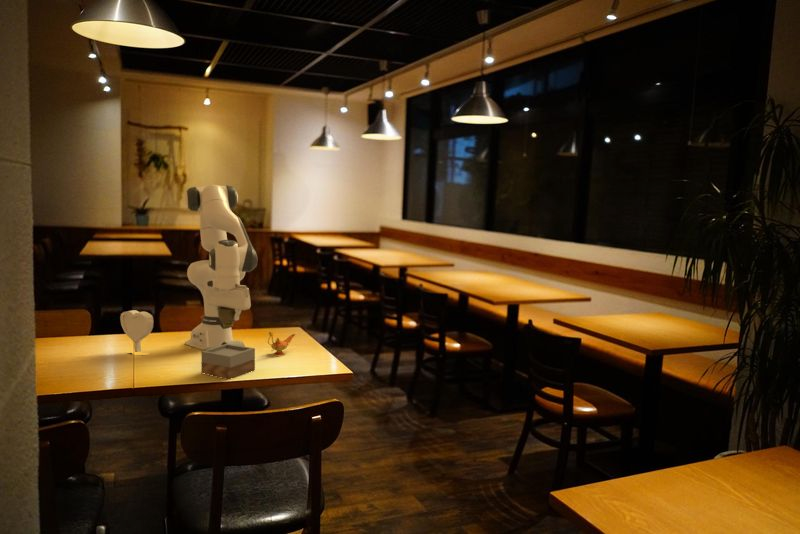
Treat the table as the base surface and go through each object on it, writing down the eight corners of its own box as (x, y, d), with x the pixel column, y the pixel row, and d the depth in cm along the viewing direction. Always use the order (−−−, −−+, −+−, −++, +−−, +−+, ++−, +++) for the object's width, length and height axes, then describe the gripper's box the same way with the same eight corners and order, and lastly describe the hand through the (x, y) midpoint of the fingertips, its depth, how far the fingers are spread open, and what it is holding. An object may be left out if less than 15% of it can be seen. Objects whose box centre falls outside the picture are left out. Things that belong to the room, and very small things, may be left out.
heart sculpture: (119, 352, 255) (118, 310, 253) (129, 349, 260) (128, 308, 257) (146, 357, 248) (145, 314, 246) (155, 354, 253) (154, 312, 251)
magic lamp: (301, 349, 266) (301, 325, 265) (274, 359, 251) (274, 333, 249) (288, 347, 270) (289, 323, 268) (261, 356, 254) (261, 331, 252)
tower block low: (201, 374, 228) (201, 361, 227) (228, 365, 240) (228, 353, 240) (228, 380, 221) (228, 367, 221) (254, 371, 234) (254, 359, 233)
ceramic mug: (246, 358, 250) (246, 340, 249) (228, 361, 245) (228, 343, 244) (233, 353, 258) (233, 336, 257) (216, 356, 252) (215, 339, 251)
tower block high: (201, 362, 227) (201, 351, 226) (226, 353, 240) (226, 343, 239) (230, 367, 221) (230, 356, 221) (254, 358, 234) (254, 348, 233)
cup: (232, 329, 224) (232, 309, 223) (214, 328, 226) (214, 307, 225) (241, 325, 232) (241, 305, 231) (223, 324, 233) (223, 304, 232)
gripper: (254, 284, 225) (254, 320, 226) (214, 279, 234) (215, 314, 236) (242, 286, 219) (242, 323, 221) (202, 281, 229) (202, 317, 230)
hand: (228, 318), depth 228 cm, fingers closed on cup, 7 cm apart
